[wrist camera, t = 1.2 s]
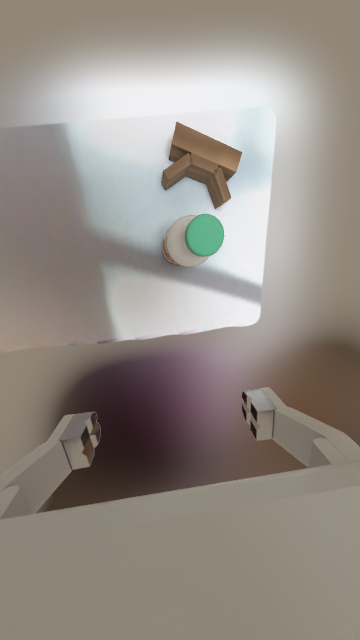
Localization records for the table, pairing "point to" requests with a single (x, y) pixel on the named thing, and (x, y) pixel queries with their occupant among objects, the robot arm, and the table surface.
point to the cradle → (201, 162)
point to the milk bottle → (193, 240)
